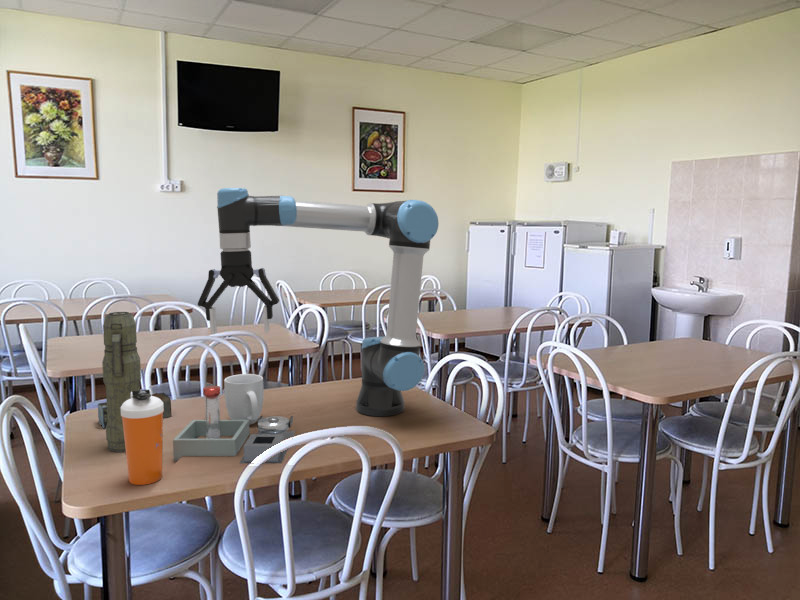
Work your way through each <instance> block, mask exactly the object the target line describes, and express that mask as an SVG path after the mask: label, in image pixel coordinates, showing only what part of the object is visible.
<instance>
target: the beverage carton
mask: <svg viewBox="0 0 800 600" xmlns="http://www.w3.org/2000/svg"><path fill="white" fill-rule="evenodd" d="M151 395H152V396H154V397H157V398H159V399H161V401H162V402H163V406H164V411H163V419H166V418H170V417H172V401H171V400H172V399H171V396H168V394H166V393H165V392H155V393H151ZM97 412H98V413H97V417H98V423H99V424H100V426H101V425H102V426H101V428H102V429H104V430H106V426H107V423H108V417H107V401H105V402H99V403H97Z"/></svg>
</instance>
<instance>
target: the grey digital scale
mask: <svg viewBox="0 0 800 600" xmlns="http://www.w3.org/2000/svg"><path fill="white" fill-rule="evenodd" d="M293 423H294V415H290V418H287V417H286V416H285V417H284V416H279V415H277V416H275V415H273V416H266V417H264V416H263V415H260V416H259V418H258V420H257V421H256V428H257V433H254V434H253V433H251V434H249V436H248V437H247V439H246V441H245V442H244V444H243V456H242V458H241V460H240V462H239V464H252V463H251V462H252V461H253V460H254V459H255V458H256V457H257V456H259V455H260V454H262V453H263V452H264V451H266V450H267V449H269V448H271V447H272V446H274V445H276V444H278V443H280V442H281V441H283V440H285V439H288V438H290V437H293V438H294V436H295V435H296V430H289V429H290V428H291V427H292V424H293ZM288 449H289V448H288ZM288 449H287V450H285V451H283V452H280V453H278V454H276V455H274V456H273V457H271V458H270V459H269V460H267V461H266V462H265V463H264V464H282V463H283V461H284V459H285V457H286V455H287V452H288Z"/></svg>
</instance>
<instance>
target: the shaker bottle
mask: <svg viewBox="0 0 800 600" xmlns="http://www.w3.org/2000/svg"><path fill="white" fill-rule="evenodd" d="M151 394H152V390H151V389H140V391H132V392H131V395H130V396H131V399H128V400H126V401H125V402H124V403H123V404H122V406H121V417H122V421H123V430H124V440H125V449H126V452H125V458H126V459H125V460H126V466H127V475H128V476H127V477H128V482H129V483H130V484H131V485H134V486H135V485H136V486H144V485H150V484H154V483H156V482H159V480H161V479H162V478H163V447H164V446H163V432H164V431H163V430H164V429H163V424H164V423H163V422H164V421H163V420H164V418H163V411H164V406H163V402H162V401H161V399H159V398H157V397H154V396H152V395H151Z"/></svg>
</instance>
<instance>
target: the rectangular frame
mask: <svg viewBox="0 0 800 600" xmlns="http://www.w3.org/2000/svg"><path fill="white" fill-rule="evenodd" d="M205 436H206V419H192V420H191V421H190V422H189V423H187V425H186V426H185V427H184V428H183V429H181V431H180V432H179V433H178V434H177V435H176V436H175V438H173V440H172V449H173V450H172V454H173V462H174V463H178V461H179V460H180V459H181V458H182V457H236V456H237V455H238V453H239V451H240V450H241V448H242V446H244V445H245V443H246V442H247V440H248V438H249V437H250V425H249V420H231V419H220V437H222V436H225V437H226V436H227V437H232V438H220V439H207V438H199V437H205Z"/></svg>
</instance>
